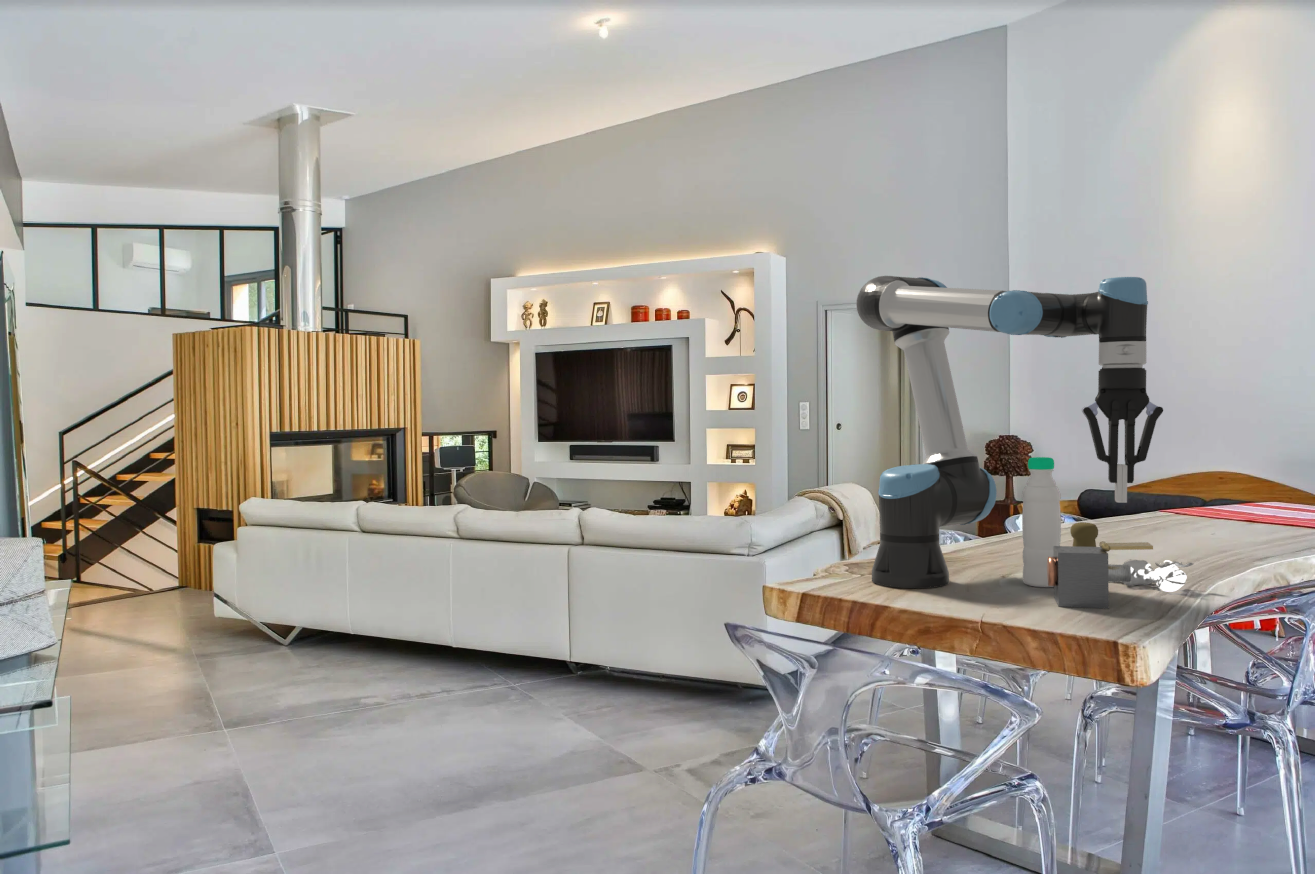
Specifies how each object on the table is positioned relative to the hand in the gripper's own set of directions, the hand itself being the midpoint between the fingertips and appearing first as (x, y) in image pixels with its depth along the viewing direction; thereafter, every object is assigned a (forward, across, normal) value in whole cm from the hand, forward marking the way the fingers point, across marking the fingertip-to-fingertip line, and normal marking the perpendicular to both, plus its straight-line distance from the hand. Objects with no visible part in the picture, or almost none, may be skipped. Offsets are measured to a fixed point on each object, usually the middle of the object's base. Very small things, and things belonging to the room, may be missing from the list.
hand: (1120, 501), depth 168 cm
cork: (+19, -2, +28) cm, 33 cm away
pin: (+15, -5, 0) cm, 16 cm away
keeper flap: (+8, +1, 0) cm, 8 cm away
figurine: (+19, +9, +16) cm, 26 cm away
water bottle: (+19, -11, +16) cm, 27 cm away
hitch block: (+18, -6, 0) cm, 19 cm away
